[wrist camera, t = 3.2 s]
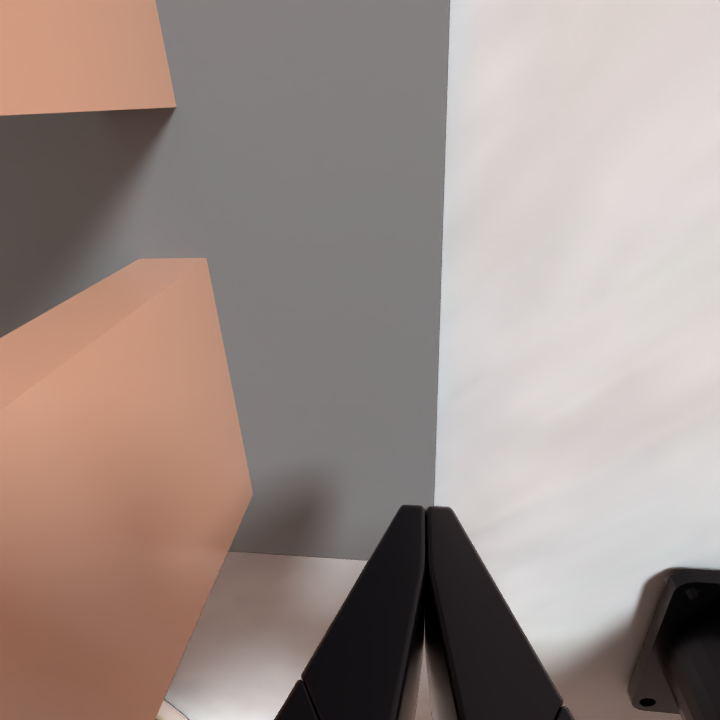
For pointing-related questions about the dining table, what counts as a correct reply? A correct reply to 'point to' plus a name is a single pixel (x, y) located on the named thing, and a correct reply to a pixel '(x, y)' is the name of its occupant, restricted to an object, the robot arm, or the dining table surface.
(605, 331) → the dining table surface
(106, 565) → the tile
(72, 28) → the tile
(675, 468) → the dining table surface
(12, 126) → the mat
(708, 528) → the dining table surface
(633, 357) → the dining table surface
